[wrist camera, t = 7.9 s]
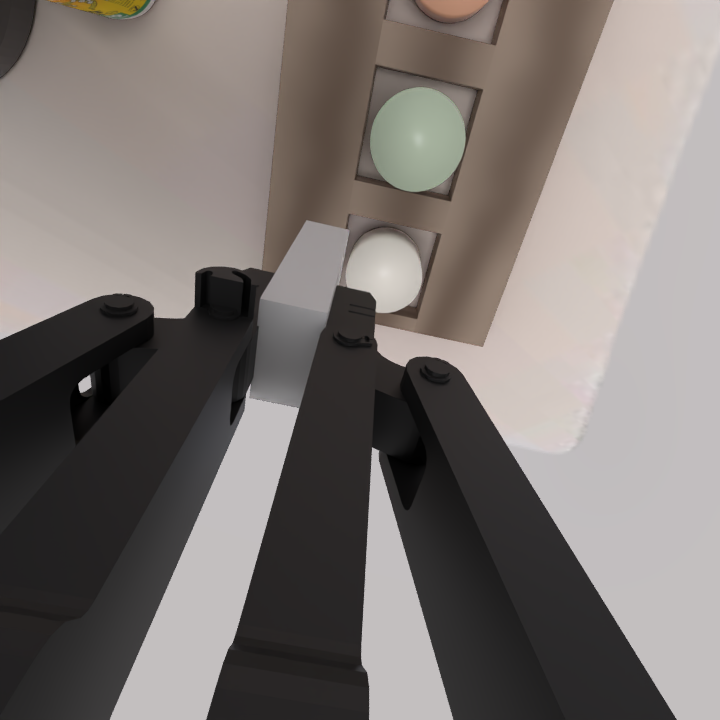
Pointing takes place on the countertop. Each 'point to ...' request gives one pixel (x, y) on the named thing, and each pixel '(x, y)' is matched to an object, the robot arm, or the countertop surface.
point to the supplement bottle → (110, 7)
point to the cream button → (385, 268)
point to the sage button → (417, 139)
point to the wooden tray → (481, 152)
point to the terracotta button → (450, 9)
